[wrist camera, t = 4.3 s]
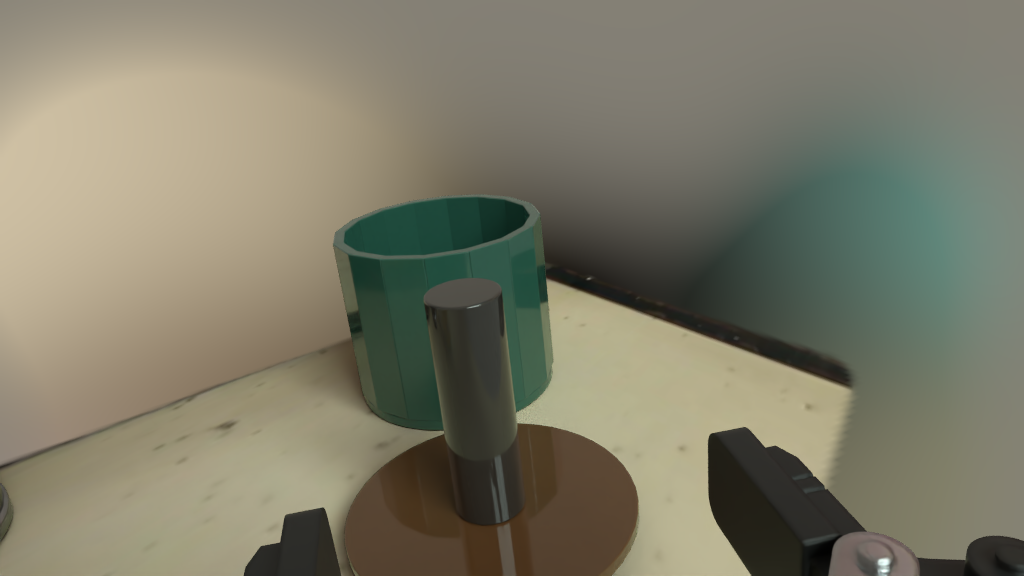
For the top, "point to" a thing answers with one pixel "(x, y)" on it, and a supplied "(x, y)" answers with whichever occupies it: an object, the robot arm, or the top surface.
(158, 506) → the top surface
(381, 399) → the canister
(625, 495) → the lid
